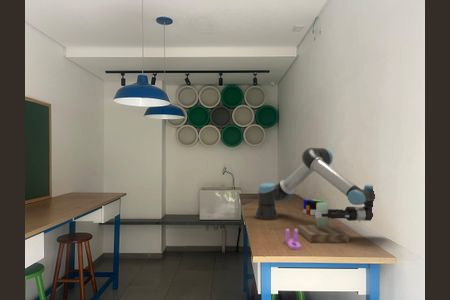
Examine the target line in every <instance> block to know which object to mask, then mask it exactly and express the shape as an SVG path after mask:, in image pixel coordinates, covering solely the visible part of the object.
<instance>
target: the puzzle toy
mask: <svg viewBox="0 0 450 300" xmlns="http://www.w3.org/2000/svg"><path fill="white" fill-rule="evenodd" d="M317 203H324V201H323V200H320V199H319V200H318V199H315V198H313V199H303V207H302V208H303V209H302V211H303V214H304V215H305V214H306V215H308V214H309V215H308V216H311V215H310V213H311V210H316V206H317Z"/></svg>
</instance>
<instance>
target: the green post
mask: <svg viewBox="0 0 450 300" xmlns="http://www.w3.org/2000/svg"><path fill="white" fill-rule="evenodd" d="M328 209H329V203H328V202H323V203H317V206H316V212H328ZM327 214H328V213H327ZM315 222H316V224H315V225H316V226H319V227H328V225H329V218H328V217H327V218H316V221H315Z"/></svg>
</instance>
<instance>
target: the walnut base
mask: <svg viewBox="0 0 450 300" xmlns="http://www.w3.org/2000/svg"><path fill="white" fill-rule="evenodd" d="M297 230H298V234H300V235H301V236H302V237H303V238H304V239H305V240H306V241H308V242H309V243H350V242H349V240H350V239H349V238H350V236H349V235H350V234H349V233H347V232H345V231H343V230H342V229H340V228H338V227H336V226H335V225H333V224H328V227H319V226H316V224H309V225H308V224H298V225H297Z"/></svg>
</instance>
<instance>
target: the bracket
mask: <svg viewBox="0 0 450 300" xmlns="http://www.w3.org/2000/svg"><path fill="white" fill-rule="evenodd" d="M284 233H285V238H284V239H285V240H284V241H285V243H286V245H287V246H288V248H289V249H291V250H294V251H295V250H301V249H302V245H301V243H300V242H299V233H298V228H293V238H290V229H289V228H285V232H284Z"/></svg>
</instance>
